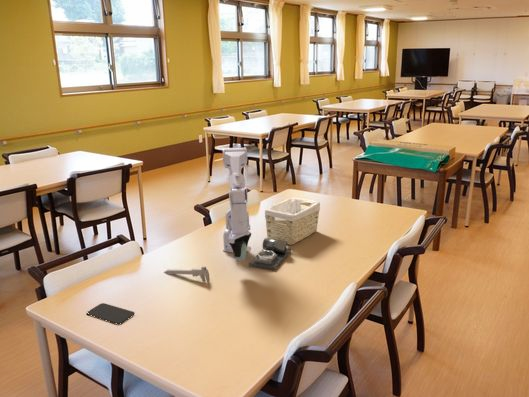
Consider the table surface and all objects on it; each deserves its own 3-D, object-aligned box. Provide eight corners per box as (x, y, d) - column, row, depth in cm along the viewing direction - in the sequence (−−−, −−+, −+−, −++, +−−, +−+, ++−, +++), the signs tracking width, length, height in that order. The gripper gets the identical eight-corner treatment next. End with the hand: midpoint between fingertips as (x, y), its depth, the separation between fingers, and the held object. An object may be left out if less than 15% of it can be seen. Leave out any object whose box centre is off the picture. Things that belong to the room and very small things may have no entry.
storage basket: (292, 224, 221) (292, 195, 216) (321, 231, 211) (322, 201, 207) (263, 239, 202) (262, 208, 198) (293, 248, 193) (293, 215, 189)
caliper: (209, 282, 165) (208, 266, 163) (208, 283, 164) (207, 268, 162) (165, 272, 174) (164, 257, 172) (163, 273, 173) (162, 258, 171)
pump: (232, 259, 168) (232, 245, 166) (237, 254, 171) (237, 241, 170) (247, 261, 165) (247, 247, 164) (252, 256, 169) (252, 243, 167)
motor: (248, 265, 177) (248, 250, 175) (266, 248, 192) (266, 234, 191) (275, 270, 172) (275, 255, 170) (291, 252, 188) (291, 238, 186)
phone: (102, 302, 151) (136, 312, 144) (102, 304, 151) (136, 314, 145) (84, 313, 145) (119, 324, 138) (85, 315, 145) (119, 326, 138)
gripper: (240, 228, 156) (241, 263, 160) (257, 215, 169) (258, 248, 173) (222, 225, 159) (224, 260, 163) (240, 212, 172) (241, 245, 176)
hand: (240, 254), depth 168 cm, fingers closed on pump, 4 cm apart
